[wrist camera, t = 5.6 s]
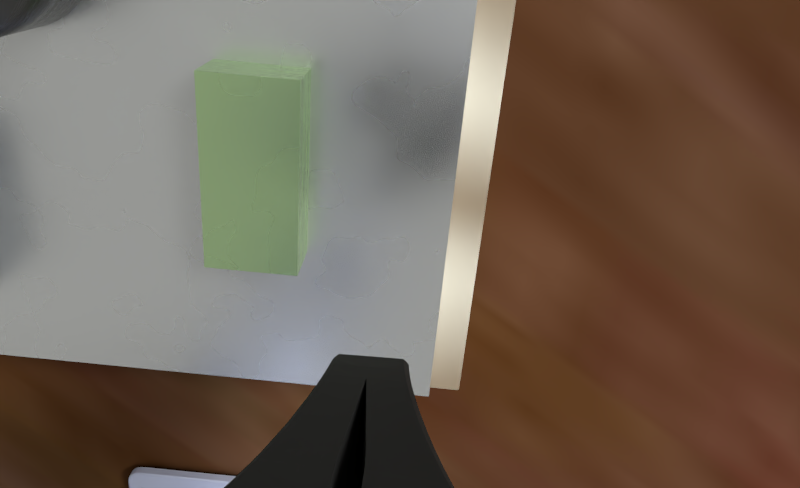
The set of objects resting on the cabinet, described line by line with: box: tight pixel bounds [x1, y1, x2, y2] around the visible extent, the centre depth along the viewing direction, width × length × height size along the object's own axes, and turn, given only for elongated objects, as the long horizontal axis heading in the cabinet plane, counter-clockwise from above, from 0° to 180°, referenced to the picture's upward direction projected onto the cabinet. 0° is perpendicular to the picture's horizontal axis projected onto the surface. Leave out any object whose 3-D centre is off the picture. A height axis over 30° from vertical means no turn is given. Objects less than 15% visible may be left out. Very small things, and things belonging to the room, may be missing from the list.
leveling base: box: [430, 0, 516, 390], centre depth 19 cm, size 15×24×2 cm, turn 85°
